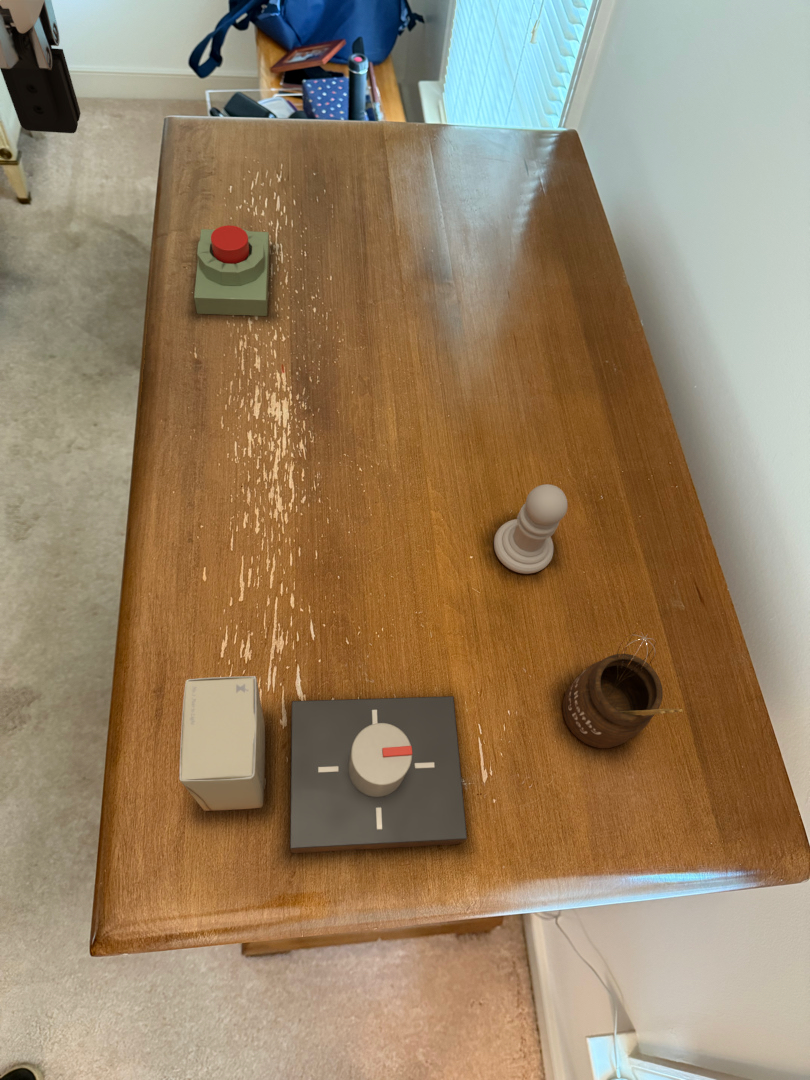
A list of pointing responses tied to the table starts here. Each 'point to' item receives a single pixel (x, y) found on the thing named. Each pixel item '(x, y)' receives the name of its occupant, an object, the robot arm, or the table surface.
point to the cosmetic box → (223, 743)
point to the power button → (230, 244)
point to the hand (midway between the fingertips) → (52, 123)
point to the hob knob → (379, 759)
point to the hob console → (353, 817)
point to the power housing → (233, 279)
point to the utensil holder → (613, 699)
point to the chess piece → (531, 531)
